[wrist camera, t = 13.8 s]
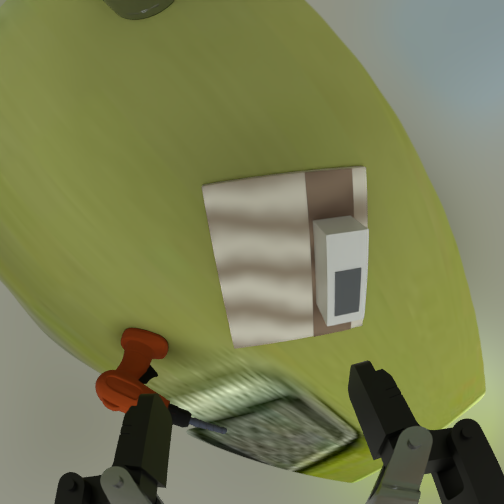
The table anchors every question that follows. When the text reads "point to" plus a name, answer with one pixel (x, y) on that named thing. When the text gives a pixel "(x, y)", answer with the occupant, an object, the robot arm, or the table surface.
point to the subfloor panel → (277, 248)
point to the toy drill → (141, 378)
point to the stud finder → (340, 268)
